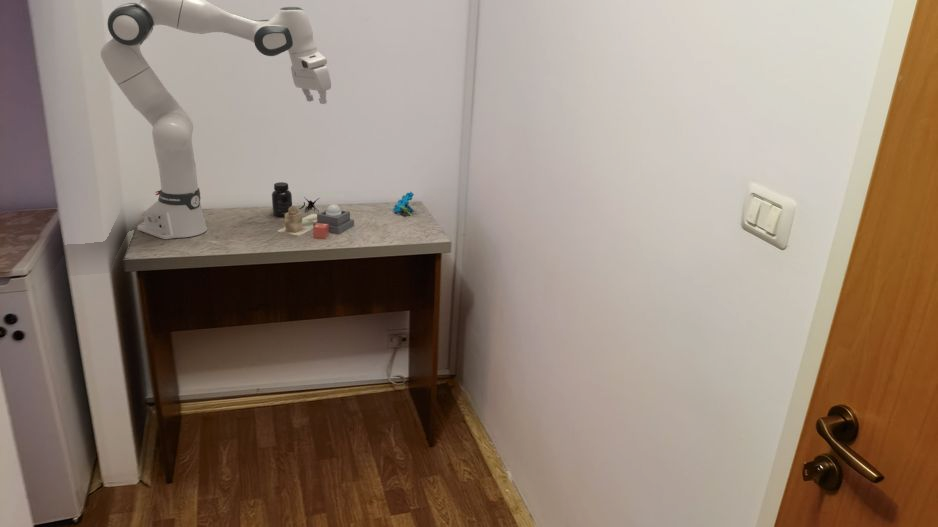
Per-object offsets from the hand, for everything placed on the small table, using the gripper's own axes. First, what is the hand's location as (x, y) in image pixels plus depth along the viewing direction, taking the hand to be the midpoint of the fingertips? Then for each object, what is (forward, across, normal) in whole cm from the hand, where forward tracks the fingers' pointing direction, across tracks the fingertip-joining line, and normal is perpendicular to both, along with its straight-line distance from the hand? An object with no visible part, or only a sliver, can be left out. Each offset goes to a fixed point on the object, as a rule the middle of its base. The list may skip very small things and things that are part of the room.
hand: (317, 102), depth 232 cm
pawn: (+38, -1, -20) cm, 43 cm away
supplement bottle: (+39, -18, -16) cm, 46 cm away
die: (+40, +9, -15) cm, 44 cm away
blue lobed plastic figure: (+49, -1, +22) cm, 54 cm away
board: (+41, 0, -12) cm, 43 cm away
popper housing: (+42, +3, -8) cm, 43 cm away
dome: (+38, +3, -7) cm, 39 cm away
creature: (+41, -18, -6) cm, 45 cm away
